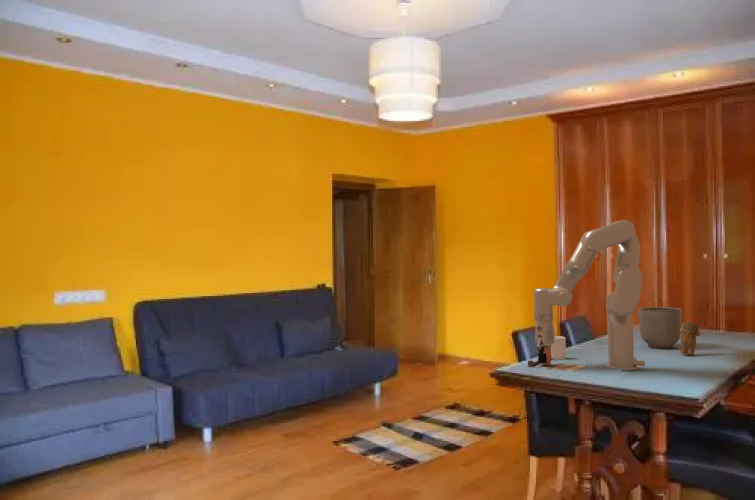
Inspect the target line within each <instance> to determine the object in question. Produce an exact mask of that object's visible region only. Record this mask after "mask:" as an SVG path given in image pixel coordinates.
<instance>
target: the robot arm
mask: <svg viewBox="0 0 755 500" xmlns="http://www.w3.org/2000/svg"><path fill="white" fill-rule="evenodd" d="M614 246H616V247H617V255H616V261H615V264H614V269H613V274H612V279H613V282H614V284H615V288H614V291H611V292H610V293H609V294H608V295H607V297H606V301H605V308H606V319H607V343H608V346H607V347H608V363H607V364H605V365H604V366H605V367H608V368H612V369H613V368H615V369H623V370H622V371H621V372H628V371H629V372H630V371H631V372H633V371H637V370H639V367H641V366H642V367H646V361H645V360H638V359H637V357H636V356H635V355H634V354H635V353H634V352H635V351H634V324H633V322H634V321H633V314H634V313H635V312H636V311H637V310H638V309H637V308H638V306H639V301H640V296H641V293H642V292H641V291H642V287H643V280H644V279H643V277H644V276H643V273H642V271H641V269H640V268H639V263H640V258H641V257H640V256H641V243H640V241H639V238H638V237H637V234H636V228H635V225H634V224H633V223H632V222H631V221H629V220H626V219H621V220H617V221H614V222H612V223H610V224H608V225H605V226H602V227H598V228H594V229H591V230H587V231H586V232H584V234H583V235H582V236H581V237H580V241H579V242H578V243H577V245H576V248H575V249H574V251H573V253H572V255H571V257H570V258H569V260H568V262H567V263H566V266H565V267H564V269H563V270H562V272H561V274H560V275H559V277H558V278H557V281H556V283H555V285H553V286H554V287H553V288H548V287H537V288H535V289H534V290H533V311H534V316H533V317H534V318H533V319H534V322H535V331H534V332H535V335H534V337H535V338H534V339H535V344H536V348H537V350H538V351H537V352H538V357H539V363H547V354H546V346H550V351H551V345H552V344H554V342H555V339H554V336H555V328H554V307H553V306H561V307H566V306H569V305H570V304H572V301H573V299H574V297H573V293H572V292H573V291H574V288H575V287H576V285H577V284H578V282H579V281H580V280H581V278H583V277H585V275H586V274H587V273H588V271H589V270H590V268H591V267H592V264H593V262H594V261H595V258H596V257H597V255H598V253H599V252H600V251H601V250H605V249H607V248H611V247H614ZM542 347H544V349H543V348H542ZM550 358H551V352H550Z"/></svg>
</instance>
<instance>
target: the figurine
mask: <svg viewBox="0 0 755 500" xmlns="http://www.w3.org/2000/svg"><path fill="white" fill-rule="evenodd" d="M680 331H681V335H680V351H679V352H680V353H681V354H683V355H689V356H693V355H695V351H696V344H697V337H698V336H700V335H701V332H700V329H699V326H698V324H697V323H695V322H693V321H691V320H688V321H685V322H682V326H681V328H680Z"/></svg>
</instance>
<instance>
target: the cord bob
mask: <svg viewBox="0 0 755 500" xmlns="http://www.w3.org/2000/svg"><path fill="white" fill-rule="evenodd" d="M542 348H543V349H544V347H542ZM546 354H547V363H539V365H552V364H551V363H552V359H551V358H550V346H546Z"/></svg>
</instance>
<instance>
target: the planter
mask: <svg viewBox="0 0 755 500" xmlns="http://www.w3.org/2000/svg"><path fill="white" fill-rule="evenodd" d="M637 318H638V326H639V333H640V336H641V339H642V341H644V342H645V343H646V344H647V346H648V347H649V348H650V349H654V348H655V349H657V350H671V349H673V348H674V345H675V344H677V343H678V342H679V341H680V340H681V335H682V333H681V331H680V328H681V326H682V324H683V322H682V321H683V309H682V308H678V307H666V306H665V307H664V306H662V307H661V306H655V307H654V306H651V307H649V306H648V307H647V306H646V307H639V308H638V309H637ZM655 349H654V350H655Z"/></svg>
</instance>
